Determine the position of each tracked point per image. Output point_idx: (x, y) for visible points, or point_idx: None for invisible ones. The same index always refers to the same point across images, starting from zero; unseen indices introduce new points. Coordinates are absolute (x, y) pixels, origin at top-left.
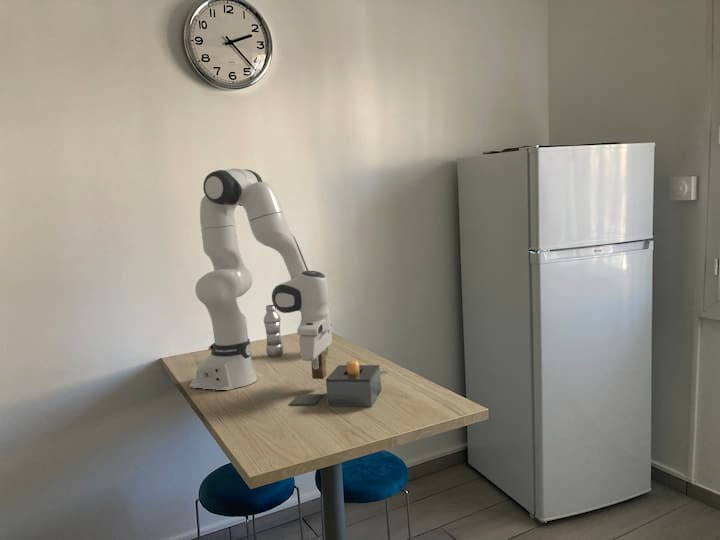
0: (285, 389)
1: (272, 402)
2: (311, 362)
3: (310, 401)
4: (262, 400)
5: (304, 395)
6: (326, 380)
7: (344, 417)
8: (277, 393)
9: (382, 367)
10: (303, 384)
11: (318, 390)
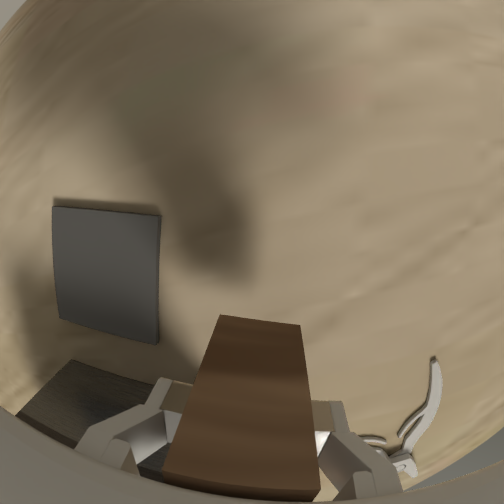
0: (271, 108)
1: (90, 110)
2: (189, 395)
3: (76, 297)
4: (121, 53)
5: (136, 256)
6: (17, 415)
7: (29, 390)
8: (207, 82)
9: (412, 476)
10: (349, 201)
11: (235, 309)
